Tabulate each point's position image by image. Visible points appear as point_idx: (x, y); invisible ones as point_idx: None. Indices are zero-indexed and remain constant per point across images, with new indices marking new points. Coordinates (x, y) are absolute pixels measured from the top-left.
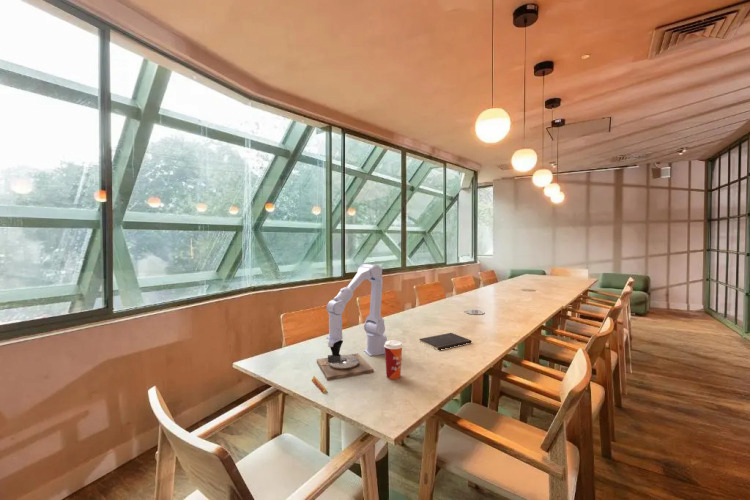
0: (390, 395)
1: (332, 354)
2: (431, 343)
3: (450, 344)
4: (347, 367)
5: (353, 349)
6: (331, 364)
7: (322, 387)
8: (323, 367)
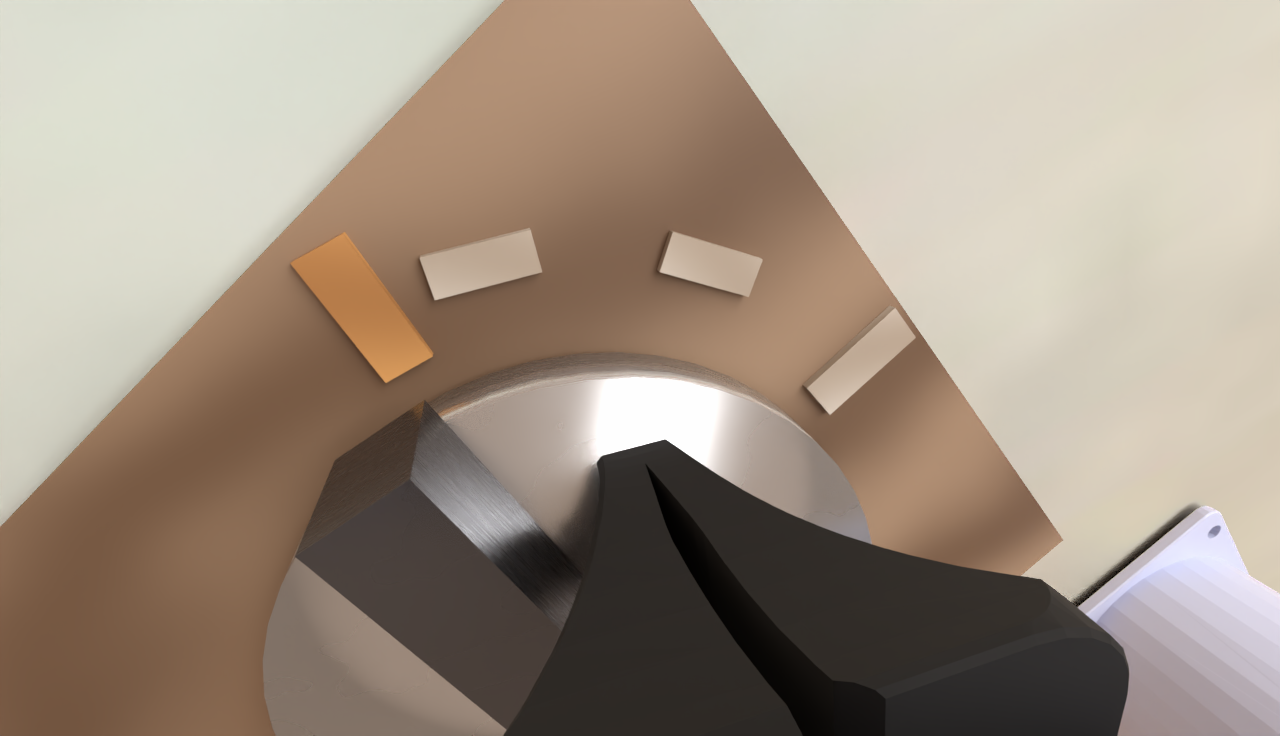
0: None
1: (600, 497)
2: None
3: None
4: None
5: (1272, 330)
6: (285, 576)
7: None
8: (231, 363)
